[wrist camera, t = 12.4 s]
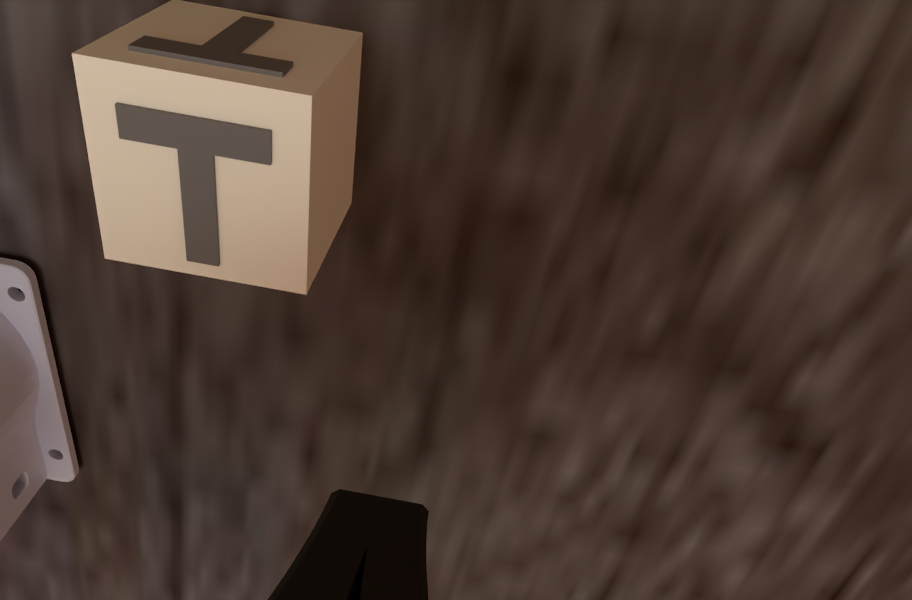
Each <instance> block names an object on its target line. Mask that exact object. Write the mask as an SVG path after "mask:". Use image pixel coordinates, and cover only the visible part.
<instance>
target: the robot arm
mask: <svg viewBox="0 0 912 600" xmlns="http://www.w3.org/2000/svg"><path fill="white" fill-rule="evenodd" d="M17 288H18V289H20V290H21V291H22V292H23V293H21V292H20V291H19V290H18V289H17ZM78 473H79V466H78V461H77V457H76V452H75V448H74V443H73V439H72V434H71V430H70V425H69V421H68V417H67V412H66V408H65V403H64V399H63V394H62V390H61V385H60V381H59V376H58V372H57V367H56V363H55V358H54V354H53V349H52V345H51V340H50V336H49V331H48V327H47V323H46V318H45V314H44V309H43V305H42V300H41V296H40V291H39V287H38V282H37V278H36V275H35V273H34V271H33V270H32V269H31V268H30V267H29V266H28V265H26V264H25V263H23V262H20V261H17V260H12V259H7V258H1V257H0V541H1V540H2V539H3V537H4V536H5V534H6V533H7V532H8V530H9V529H10V528H11V526H12V525H13V524H14V522H15V521H16V520H17V518H18V517H19V516H20V514H21V513H22V512H23V510H24V509H25V508H26V506H27V505H28V504H29V502H30V501H31V500H32V498H33V497H34V496H35V494H36V493H37V491H38V490H39V489H40V487H41V486H42V485H43V483H44V482H45V481H46V479H51V480H56V481H62V482H69V481H72V480H73V479H74V478H75V477H76V475H77V474H78ZM428 512H429V511H428V510H427V509H426V508H425V507H424V506H423V505H422V504H417V503H411V502H406V501H401V500H395V499H390V498H384V497H379V496H374V495H368V494H363V493H358V492H352V491H347V490H341V489H339V490H337V491H335V492H333V493H331V495H330V498H329V500H328V502H327V504H326V506H325V508H324V510H323V512H322V514H321V516H320V518H319V519H318V521H317V523H316V525H315V527H314V529H313V530H312V532H311V534H310V536H309V537H308V539H307V541H306V542H305V544H304V546H303V547H302V549H301V550H300V552H299V554H298V555H297V557H296V558H295V560H294V561H293V563H292V565H291V566H290V568H289V569H288V571H287V572H286V574H285V576H284V577H283V578H282V580H281V581H280V583H279V584H278V586H277V587H276V588H275V590H274V591H273V593H272V594H271V596H270V597H269V599H268V600H428V587H427V571H426V534H427V520H428Z"/></svg>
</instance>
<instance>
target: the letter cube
mask: <svg viewBox="0 0 912 600" xmlns="http://www.w3.org/2000/svg"><path fill="white" fill-rule="evenodd" d="M362 39H363V33H362V32H356V31H351V30H345V29H339V28H334V27H328V26H322V25H317V24H311V23H306V22H300V21H294V20H289V19H283V18H277V17H272V16H266V15H260V14H255V13H249V12H244V11H238V10H232V9H227V8H221V7H215V6H210V5H204V4H198V3H193V2H187V1H182V0H171V1H169V2H167V3H165V4H164V5H162V6H160V7H158V8H156V9H154V10H152V11H150V12H149V13H147V14H145V15H143V16H141V17H139V18H137V19H135V20H133V21H132V22H130V23H128V24H126V25H124V26H122V27H120V28H118V29H116V30H115V31H113V32H111V33H109V34H107V35H105V36H103V37H101V38H99V39H98V40H96V41H94V42H92V43H90V44H88V45H86V46H84V47H83V48H81V49H79V50H77V51H75V52H73V53H72V58H73V64H74V71H75V77H76V83H77V89H78V95H79V101H80V108H81V114H82V120H83V126H84V132H85V139H86V145H87V151H88V157H89V163H90V170H91V176H92V182H93V188H94V194H95V201H96V207H97V213H98V219H99V225H100V232H101V238H102V244H103V250H104V256H105V259H110V260H116V261H121V262H127V263H133V264H138V265H144V266H149V267H155V268H160V269H166V270H171V271H177V272H183V273H188V274H194V275H199V276H205V277H210V278H216V279H222V280H227V281H233V282H238V283H244V284H249V285H255V286H260V287H266V288H272V289H277V290H283V291H288V292H294V293H299V294H305V295H306V294H307V292H308V290H309V288H310V286H311V284H312V282H313V280H314V278H315V276H316V274H317V272H318V270H319V268H320V266H321V264H322V262H323V260H324V258H325V256H326V254H327V252H328V250H329V248H330V246H331V244H332V242H333V240H334V238H335V236H336V234H337V232H338V230H339V228H340V226H341V224H342V222H343V220H344V217H345V215H346V213H347V211H348V209H349V207H350V205H351V203H352V189H353V174H354V159H355V144H356V129H357V114H358V99H359V84H360V69H361V54H362Z"/></svg>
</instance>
